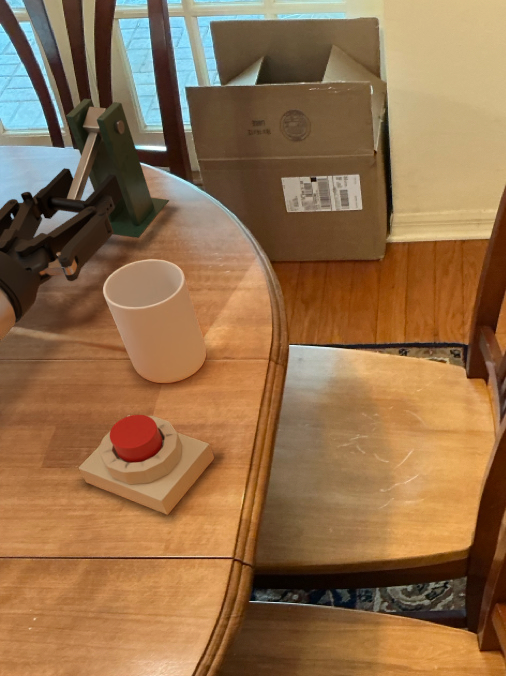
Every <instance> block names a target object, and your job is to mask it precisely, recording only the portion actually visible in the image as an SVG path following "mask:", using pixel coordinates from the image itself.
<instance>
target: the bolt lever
mask: <svg viewBox="0 0 506 676" xmlns="http://www.w3.org/2000/svg"><path fill="white" fill-rule="evenodd" d="M105 110H107V108H105V107H96V106H94V107H89V109H88V112H87V115H86V118H85V121H84V124H83V128H84V129H85V130H86V132H87V133H88V134H89V135H88V138H87V141H86V144H85V147H84V150H83V153H82V156H81V155H80V158H79V161H78V164H77V168H76V170H75V174H74V176H73V182H72V185H71V188H70V191H69V194H68V197H67V198H61V197H54V196H50V197H49V198H48V201H47V203H48V206H49V208H50V209H54V210H58V211H61V212H68V213H76V214H78V213H79V212H81V211H82V210H84V209H85V208H84V206H83V202H84V201H85V200H82V197H83V195H84V192H85V189H86V185H87V183H88V179H89V174H90V171H91V168H92V165H93V162H94V159H95V156H96V153H97V150H98V147H99V144H100V141H102V142H104V140H103V137H102V134H101V131H100V129H99V126H98V123H97V118H98V117H99V116H100V115H101V114H102V113H103V112H104V111H105Z"/></svg>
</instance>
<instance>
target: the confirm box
mask: <svg viewBox="0 0 506 676" xmlns="http://www.w3.org/2000/svg"><path fill="white" fill-rule="evenodd" d="M128 416H131V414H128V415H127V416H126V417H128ZM147 416H148V417H150V418H152V419H153V420H154V421H155V423H156V425H157V427H158V430H159V432H160V435H161V437H162V441H163V442H162V447H161V449H160V451H159V452H158V453H157V454H156V455H155V456H154V457H152V458H150V459H147V460H145V461H143V462H134V463H131V462H127V461H124V460H122V459H121V458H120V457H119V456H118V454H117V452H116V450H115V448H114V446H113V444H112V442H111V440H110V431H111V429H110V430H108V432H107V433H106V434H105V435H104V436H103V438H101V442H100V444H99V445H98V446H97V448H96V449H94V451H92V453H91V454H90V455H89V456H88V457H87V458H86V459H85V460H84V461H83V462H82V463H81V464H80V466H78V470H79V472H80V474H81V476H82V478H83V480H84V481H85V483H86V484H89V485H91V486H94V487H96V488H99V489H102V490H105V491H107V492H109V493H112V494H113V495H117V496H119V497H122V498H123V499H128V501H129V500H130V501H132V502H135V503H137V504H139V505H141V506H144V507H147V508H150V509H152V510H154V511H157V512H160V513H162V514H165V515H167V516H168V515H169V514H170V513H171V512H172V511H173V510H174V508H175V507H176V506H177V505H178V503H179V502H180V501H181V500H182V499H183V497H184V496H185V495H186V493H187V492H188V491H190V489H191V488H192V486H193V485H194V484H195V483H196V481H197V480H198V479H199V478H200V477H201V475H202V474H203V473H204V472H205V470H206V469H207V468H208V467H209V465H210V464H212V462H213V461H214V460H215V456H214V453H213V451H212V448H211V445H210V443H209V442H206V441H202V440H200V439H198V438H195V437H192V436H189V435H187V434H183V433H181V432H178V431H177V430H176V429H175V427H174V426H173V425H172V423H171V421H168V420H166V419H164V418H161V417H158V416H155V415H147Z"/></svg>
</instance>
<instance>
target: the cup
mask: <svg viewBox="0 0 506 676" xmlns="http://www.w3.org/2000/svg"><path fill="white" fill-rule="evenodd" d="M102 293H103V297H104V299H105V301H106V304H107V306H108V309H109V311H110V314H111V317H112V319H113V321H114V323H115V326H116V328H117V331H118V333H119V336H120V339H121V340H122V343H123V346H124V348H125V351H126V353H127V355H128V357H129V361H130V362H131V364H132V366H133V368H134V370H135V372H136V373H137V374H138V375H139V376H140V377H141V378H143V379H145V380H147V381H149V382H153V383H157V384H172V383H176V382H177V383H178V382H180V381H183V380H185V379H187V378H189V377H191V376H192V375H195V373H197V372H198V371H199V370H200V369H201V368H202V366H203V364H204V363H205V361H206V357H207V346H206V342H205V338H204V335H203V332H202V328H201V325H200V323H199V319H198V315H197V313H196V308H195V305H194V303H193V298H192V295H191V293H190V288H189V285H188V283H187V280H186V276H185V273H184V271H183V270H182V269H181V267H180V266H178V265H177V264H175V263H173V262H171V261H168V260H164V259H156V258H155V259H153V258H149V259H142V260H137V261H134V262H130V263H127V264H125V265H122V266H121V267H119V268H118V269H116V270H115V271H113V272H112V273H111V274H110V275H109V276H108V277H107V278H106V280H105V281H104V284H103V288H102Z"/></svg>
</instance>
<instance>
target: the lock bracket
mask: <svg viewBox="0 0 506 676" xmlns="http://www.w3.org/2000/svg"><path fill="white" fill-rule="evenodd" d="M89 107H95V105H94V102H93V100H92V99H90V98H83V99H82V101H80V102H79V104H77V105H76V106H75V107H74V108H72V110H70V112H68V113H67V114H65V117H66V120H67V122H68V125H69V129H70V130H71V133H72V135H73V138H74V141H75V144H76V146H77V149H78V152H79V154H80V157H81V156H82V153H83V150H84V147H85V144H86V141H87V138H88V135H89V134H88V133H87V132H86V130H85V129H84V128H83V124H84V121H85V118H86V115H87V112H88V109H89ZM97 123H98V126H99V129H100V131H101V134H102V137H103V140H104V142H102V141H100V144H99V147H98V150H97V153H96V156H95V159H94V162H93V165H92V168H91V171H90V174H89V177H88V179H89V181H90V183H91V186H92V189H93V192H94V191H95V190H96V189H97V187H98V186H99V185H100V184H101V183H102V182H103V181H104V180H105V179H106V178H107V177H108V176H109V175H110V174H113V175H116V178H117V181H118V184H119V187H120V189H121V192H122V195H123V197H122V198H121V199H120V200H119V201H118V202H117V203H116V204H115V208H114V210H113V211H112V213H111V214H110V215H109V216H108V218H109V221H110V224H111V226H112V229H113V232H114V233H113V236H114V235H115V236H122V237H127V238H128V237H129V238H135V239H139V238H140V237H141V236H142V235H143V233H144V232H145V231H146V229H148V228H149V226H150V225H151V224H152V222H153V221H154V220H155V219H156V217H157V216H158V215H159V214H160V213H161V211H162V210H163V209H164V208H165V207H166V205H167V204H168V203H169V202H170V200H169V199H167V198H159V197H158V198H157V197H152V195H151V192H150V190H149V187H148V183H147V180H146V177H145V174H144V170H143V166H142V164H141V161H140V158H139V155H138V152H137V148H136V144H135V142H134V140H133V135H132V132H131V130H130V126H129V123H128V120H127V117H126V113H125V111H124V106H123V104H122V102H118V101H114V102H113V103H111V105H109V106H108V107H107V108H106V110H105V111H104V112H103V113H102V114H101V115H100V116H99V117H98V118H97Z"/></svg>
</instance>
